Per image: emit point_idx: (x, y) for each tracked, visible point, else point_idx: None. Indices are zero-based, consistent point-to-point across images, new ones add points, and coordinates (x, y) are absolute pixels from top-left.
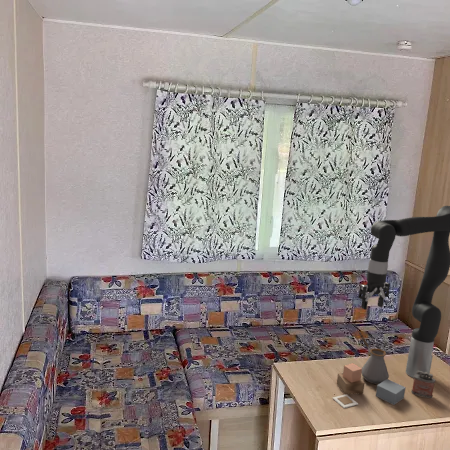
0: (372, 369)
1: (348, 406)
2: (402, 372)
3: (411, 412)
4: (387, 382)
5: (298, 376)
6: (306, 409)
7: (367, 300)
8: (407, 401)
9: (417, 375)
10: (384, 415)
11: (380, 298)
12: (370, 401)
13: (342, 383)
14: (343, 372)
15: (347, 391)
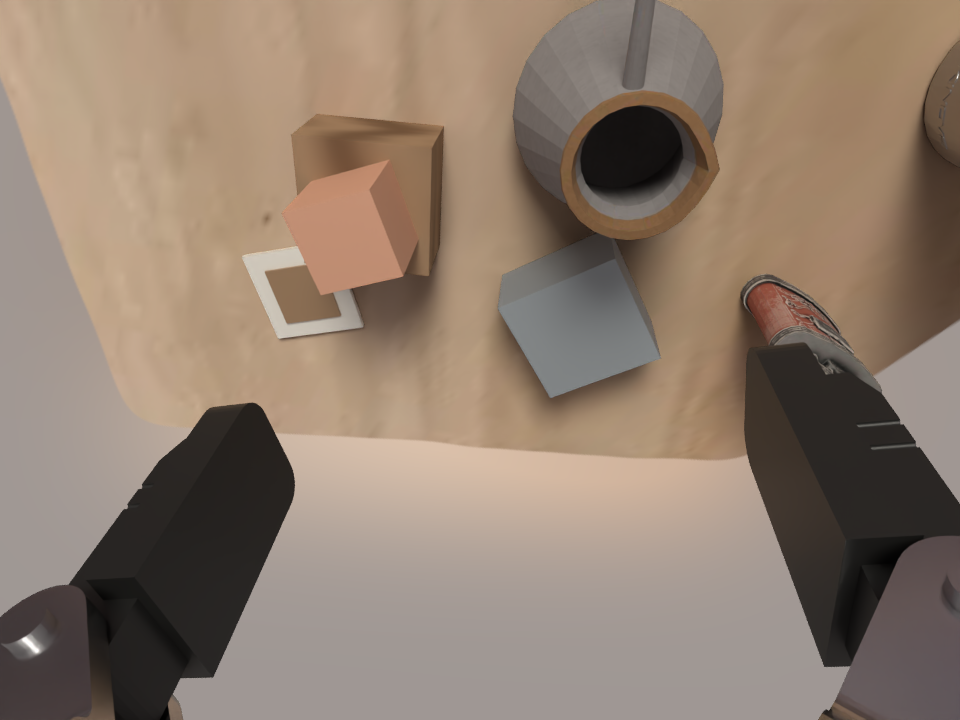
0: (553, 182)
1: (304, 334)
2: (925, 39)
3: (596, 417)
4: (585, 294)
5: None
6: (94, 310)
7: (178, 712)
8: None
9: (807, 341)
10: (452, 410)
11: (832, 599)
12: (443, 313)
13: None
14: (302, 194)
15: None
